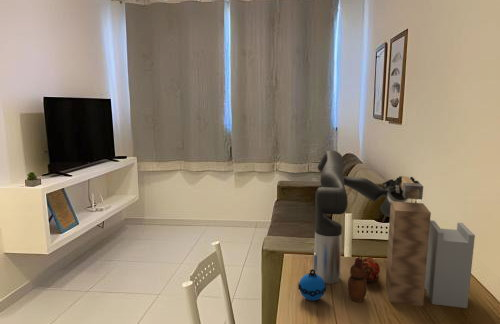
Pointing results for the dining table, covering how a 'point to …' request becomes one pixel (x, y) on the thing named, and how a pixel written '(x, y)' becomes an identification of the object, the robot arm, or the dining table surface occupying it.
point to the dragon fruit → (370, 269)
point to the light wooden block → (411, 189)
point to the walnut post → (407, 252)
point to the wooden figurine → (357, 281)
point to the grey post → (449, 265)
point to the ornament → (312, 286)
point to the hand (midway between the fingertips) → (406, 179)
